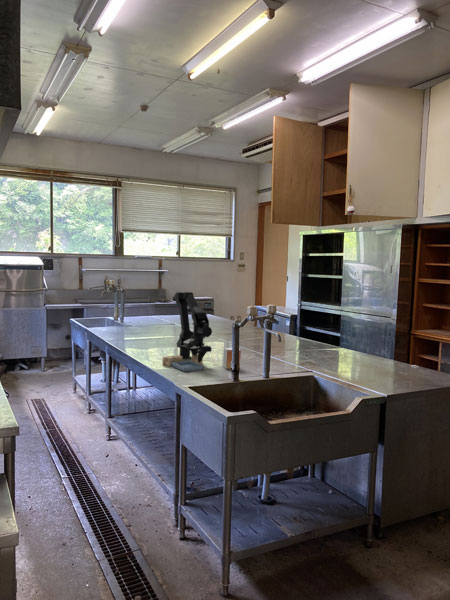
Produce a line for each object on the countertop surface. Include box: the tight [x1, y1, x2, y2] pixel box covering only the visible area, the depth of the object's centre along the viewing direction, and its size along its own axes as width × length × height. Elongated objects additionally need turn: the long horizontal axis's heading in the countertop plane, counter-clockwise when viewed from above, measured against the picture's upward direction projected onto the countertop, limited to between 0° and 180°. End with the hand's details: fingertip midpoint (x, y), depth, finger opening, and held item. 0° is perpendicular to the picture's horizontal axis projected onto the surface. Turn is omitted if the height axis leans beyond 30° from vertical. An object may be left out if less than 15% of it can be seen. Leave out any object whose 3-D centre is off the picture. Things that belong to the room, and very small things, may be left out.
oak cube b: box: [171, 354, 184, 362], centre depth 255 cm, size 4×4×4 cm
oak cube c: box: [162, 355, 175, 367], centre depth 252 cm, size 4×4×4 cm
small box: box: [222, 347, 242, 370], centre depth 254 cm, size 8×6×10 cm
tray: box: [170, 360, 204, 373], centre depth 248 cm, size 14×12×2 cm
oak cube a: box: [190, 354, 204, 365], centre depth 260 cm, size 4×4×4 cm
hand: (196, 361), depth 260 cm, fingers closed on oak cube a, 4 cm apart
